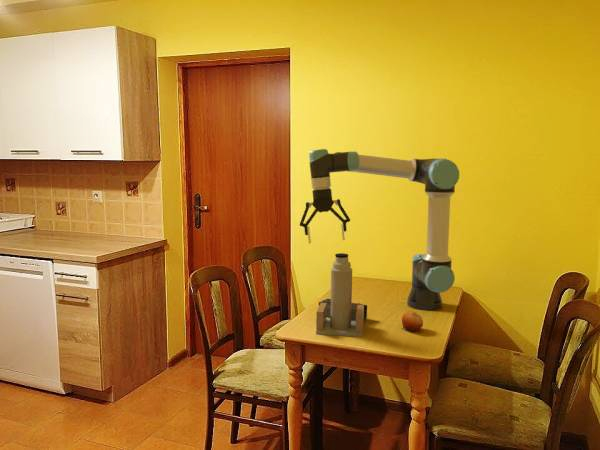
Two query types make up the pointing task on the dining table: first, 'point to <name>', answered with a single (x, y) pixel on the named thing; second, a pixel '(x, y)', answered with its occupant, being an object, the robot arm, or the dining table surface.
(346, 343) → the dining table surface
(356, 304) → the beverage carton
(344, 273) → the thermos bottle
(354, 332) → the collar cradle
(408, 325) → the fruit
